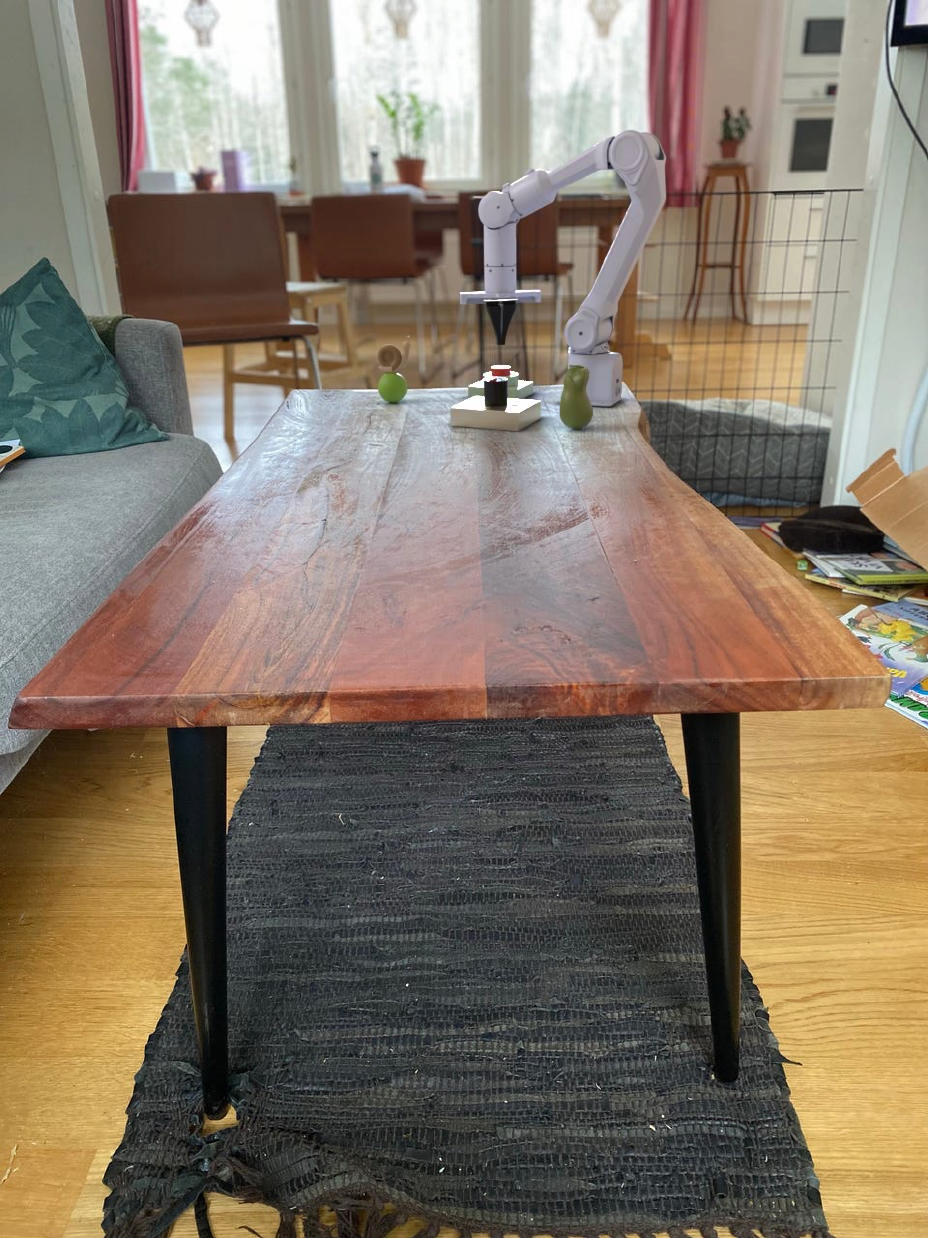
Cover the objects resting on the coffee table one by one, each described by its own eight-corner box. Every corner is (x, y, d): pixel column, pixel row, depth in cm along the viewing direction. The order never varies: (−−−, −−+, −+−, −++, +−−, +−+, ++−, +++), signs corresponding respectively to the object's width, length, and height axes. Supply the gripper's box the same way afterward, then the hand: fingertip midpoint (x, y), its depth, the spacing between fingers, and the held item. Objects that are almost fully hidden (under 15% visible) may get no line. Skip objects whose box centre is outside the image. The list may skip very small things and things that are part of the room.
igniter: (533, 393, 178) (533, 371, 176) (517, 401, 171) (517, 379, 169) (485, 390, 182) (485, 369, 180) (468, 397, 175) (467, 376, 173)
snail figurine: (409, 405, 170) (405, 337, 165) (375, 404, 171) (371, 337, 166) (416, 399, 175) (413, 333, 170) (383, 399, 176) (379, 332, 171)
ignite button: (513, 375, 176) (513, 365, 175) (506, 378, 173) (506, 368, 172) (495, 374, 177) (495, 364, 176) (488, 377, 174) (488, 367, 173)
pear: (563, 423, 154) (564, 361, 149) (595, 425, 152) (597, 362, 148) (555, 431, 149) (557, 367, 145) (588, 432, 147) (590, 368, 143)
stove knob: (489, 400, 157) (489, 374, 155) (511, 402, 156) (511, 375, 154) (479, 405, 154) (479, 378, 152) (502, 406, 152) (501, 379, 150)
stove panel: (540, 418, 158) (540, 399, 156) (518, 431, 149) (518, 411, 148) (475, 413, 162) (475, 395, 161) (450, 425, 154) (450, 406, 153)
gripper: (461, 268, 163) (463, 348, 168) (544, 265, 164) (543, 345, 169) (458, 265, 169) (460, 343, 175) (537, 263, 170) (537, 340, 176)
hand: (500, 344), depth 172 cm, fingers closed
